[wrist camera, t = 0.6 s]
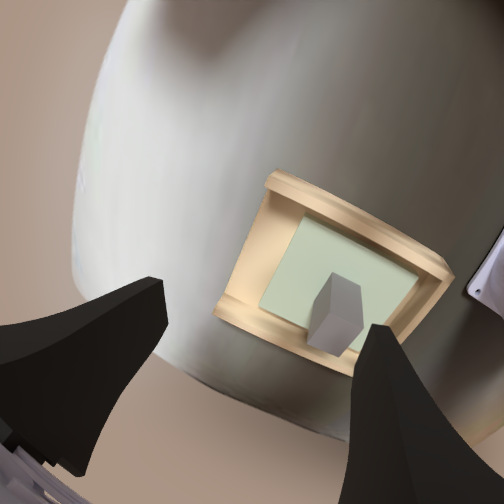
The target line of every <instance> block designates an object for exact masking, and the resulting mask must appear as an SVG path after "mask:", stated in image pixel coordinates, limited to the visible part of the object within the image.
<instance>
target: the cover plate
mask: <svg viewBox="0 0 504 504" xmlns="http://www.w3.org/2000/svg"><path fill="white" fill-rule="evenodd" d="M418 278H419V275H418V273H417V271H416V270H414V269H412V268H411V267H409V266H407V265H405V264H404V263H402V262H400V261H398V260H397V259H395V258H393V257H391V256H389V255H388V254H386V253H384V252H382V251H380V250H378V249H377V248H375V247H373V246H371V245H369V244H367V243H365V242H364V241H362V240H360V239H358V238H356V237H354V236H352V235H350V234H348V233H347V232H345V231H343V230H341V229H339V228H337V227H335V226H333V225H331V224H329V223H327V222H325V221H323V220H321V219H319V218H317V217H315V216H313V215H311V214H309V213H307V212H305V213H304V215H303V217H302V219H301V221H300V223H299V225H298V227H297V229H296V231H295V233H294V235H293V237H292V239H291V241H290V243H289V245H288V247H287V249H286V251H285V253H284V255H283V257H282V259H281V261H280V263H279V265H278V267H277V269H276V271H275V273H274V275H273V277H272V278H271V280H270V282H269V284H268V286H267V288H266V290H265V292H264V294H263V296H262V298H261V300H260V302H259V304H258V306H259V307H261V308H263V309H265V310H267V311H269V312H271V313H274V314H276V315H278V316H280V317H282V318H284V319H286V320H288V321H291V322H293V323H295V324H297V325H299V326H301V327H304V328H306V329H308V330H309V333H308V338H307V344H308V345H310V346H313V347H315V348H317V349H320V350H322V351H324V352H327V353H329V354H331V355H334V356H336V357H338V358H339V357H340V356H341V355H342V353H343V352H344V351H345V350H346V349H347V348H348V347H349V348H351V349H353V350H356V351H358V352H359V351H360V350H361V349H362V347H363V344H364V342H365V340H366V337H367V335H368V332H369V329H370V327H371V324H372V323H373V324H379V325H383V324H384V322H385V321H386V320H387V319H388V317H389V316H390V315H391V314H392V313H393V311H394V310H395V309H396V307H397V306H398V305H399V304H400V302H401V301H402V300H403V298H404V297H405V296H406V295H407V293H408V292H409V291H410V289H411V288H412V287H413V285H414V284H415V282H416V281H417V280H418Z"/></svg>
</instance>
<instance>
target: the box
mask: <svg viewBox="0 0 504 504" xmlns="http://www.w3.org/2000/svg"><path fill="white" fill-rule="evenodd" d="M264 187H266V188H268V189H267V192H266V194H265V197H264V199H263V201H262V204H261V206H260V208H259V211H258V213H257V215H256V218H255V220H254V223H253V225H252V227H251V230H250V232H249V234H248V237H247V239H246V242H245V244H244V246H243V249H242V251H241V253H240V256H239V258H238V261H237V263H236V265H235V268H234V270H233V273H232V275H231V278H230V280H229V282H228V285H227V287H226V290H225V292H224V294H223V295H222V297H221V299H220V300H219V302H218V303H217V305H216V306H215V308H214V310H213V313H212V314H213V315H215V316H217V317H219V318H221V319H223V320H225V321H227V322H229V323H231V324H233V325H235V326H237V327H239V328H241V329H243V330H245V331H247V332H250V333H252V334H254V335H256V336H258V337H260V338H262V339H264V340H267V341H269V342H271V343H273V344H275V345H278V346H280V347H282V348H284V349H286V350H289V351H291V352H293V353H296V354H298V355H300V356H302V357H305V358H307V359H309V360H312V361H314V362H317V363H319V364H321V365H324V366H326V367H329V368H331V369H334V370H336V371H339V372H341V373H344V374H346V375H349V376H351V377H353V372H354V366H355V363H356V361H357V359H358V356H359V354H360V352H361V350H360V351H359V352H358V351H356V350H353V349H351V348H349V347H348V348H347V349H346V350H345V351H344V352H343V353H342V355H341V356H340V357H339V358H338V357H336V356H334V355H331V354H329V353H327V352H324V351H322V350H320V349H317V348H315V347H313V346H310V345H308V344H307V338H308V333H309V330H308V329H306V328H304V327H301V326H299V325H297V324H295V323H293V322H291V321H288V320H286V319H284V318H282V317H280V316H278V315H276V314H274V313H271V312H269V311H267V310H265V309H263V308H261V307H259V306H258V304H259V302H260V300H261V298H262V296H263V294H264V292H265V290H266V288H267V286H268V284H269V282H270V280H271V278H272V277H273V275H274V273H275V271H276V269H277V267H278V265H279V263H280V261H281V259H282V257H283V255H284V253H285V251H286V249H287V247H288V245H289V243H290V241H291V239H292V237H293V235H294V233H295V231H296V229H297V227H298V225H299V223H300V221H301V219H302V217H303V215H304V213H305V212H307V213H309V214H311V215H313V216H315V217H317V218H319V219H321V220H323V221H325V222H327V223H329V224H331V225H333V226H335V227H337V228H339V229H341V230H343V231H345V232H347V233H348V234H350V235H352V236H354V237H356V238H358V239H360V240H362V241H364V242H365V243H367V244H369V245H371V246H373V247H375V248H377V249H378V250H380V251H382V252H384V253H386V254H388V255H389V256H391V257H393V258H395V259H397V260H398V261H400V262H402V263H404V264H405V265H407V266H409V267H411V268H412V269H414V270H416V271H417V273H418V275H419V278H418V280H417V281H416V282H415V284H414V285H413V287H412V288H411V289H410V291H409V292H408V293H407V295H406V296H405V297H404V298H403V300H402V301H401V302H400V304H399V305H398V306H397V307H396V309H395V310H394V311H393V313H392V314H391V315H390V316H389V317H388V319H387V320H386V321H385V322H384V324H383V325H385V326H390V328H391V330H392V332H393V333H394V335H395V337H396V339H397V340H398V342H399V344H401V343H402V342H403V341H404V340H405V339H406V338H407V337H408V335H409V334H410V333H411V332H412V331H413V330H414V329H415V327H416V326H417V325H418V324H419V323H420V322H421V320H422V319H423V318H424V317H425V316H426V314H427V313H428V312H429V311H430V310H431V308H432V307H433V306H434V305H435V303H436V302H437V301H438V300H439V298H440V297H441V296H442V294H443V293H444V292H445V290H446V289H447V288H448V286H449V285H450V284H451V282H452V281H453V280H454V278H455V276H454V274H453V273H452V271H451V270H450V268H449V266H448V265H447V263H446V262H445V260H444V259H443V258H442V257H441V256H439V255H438V254H436V253H435V252H433V251H431V250H430V249H428V248H427V247H425V246H423V245H422V244H420V243H419V242H417V241H415V240H414V239H412V238H410V237H409V236H407V235H405V234H404V233H402V232H400V231H399V230H397V229H395V228H393V227H392V226H390V225H388V224H386V223H385V222H383V221H381V220H379V219H377V218H376V217H374V216H372V215H370V214H368V213H367V212H365V211H363V210H361V209H359V208H357V207H355V206H354V205H352V204H350V203H348V202H346V201H344V200H342V199H340V198H338V197H336V196H334V195H332V194H330V193H328V192H326V191H324V190H322V189H320V188H318V187H316V186H314V185H312V184H310V183H308V182H306V181H304V180H302V179H300V178H298V177H295V176H293V175H291V174H289V173H287V172H285V171H282V170H280V169H276V170H275V171H274V172H273V173H272V174H271V175H269V176H268V179H267V181H266V184H265V186H264Z"/></svg>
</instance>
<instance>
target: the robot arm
mask: <svg viewBox="0 0 504 504" xmlns="http://www.w3.org/2000/svg"><path fill="white" fill-rule="evenodd" d="M477 289H479V290H478V291H477V292H475V291H476V290H477ZM467 292H468V293H469V295H471V296H472V297H474V298H475V299H477V300H478V301H480V302H481V303H483V304H484V305H486V306H487V307H489V308H490V309H492V310H493V311H495V312H496V313H497V314H499V315H500V316H502V318H503V319H504V229H503V231H502V233H501V235H500V236H499V238H498V240H497V241H496V243H495V245H494V246H493V248H492V250H491V251H490V253H489V254H488V256H487V257H486V259H485V260H484V262H483V263H482V265H481V266H480V268H479V269H478V271H477V272H476V274H475V275H474V277H473V278H472V279H471V281H470V282H469V284H468V285H467ZM168 324H169V323H168V316H167V309H166V302H165V295H164V287H163V280H161V279H157V278H153V277H146V278H143V279H140V280H138V281H135V282H133V283H130V284H128V285H126V286H124V287H121V288H119V289H117V290H115V291H112V292H110V293H108V294H106V295H103V296H101V297H99V298H96V299H94V300H92V301H89V302H87V303H84V304H82V305H79V306H77V307H74V308H72V309H69V310H66V311H64V312H60V313H57V314H54V315H51V316H48V317H44V318H40V319H36V320H31V321H27V322H22V323H17V324H10V325H2V326H0V504H58V503H57V502H55V501H54V500H52V499H51V498H49V497H47V496H46V495H45V494H44V490H45V491H46V492H48V493H49V494H50V495H51V496H52V497H54V498H55V499H56V500H57V501H58V502H60V503H61V504H92V503H90V502H89V501H88V500H86V499H85V498H83V497H82V496H80V495H79V494H77V493H76V492H74V491H73V490H72V489H70V488H69V487H68V486H66V485H65V484H64V483H62V482H61V481H60V480H59V479H57V478H56V477H55V476H53V475H52V474H51V473H50V472H49V471H48V470H46V469H45V468H44V467H43V466H42V464H43V463H44V462H45V461H46V462H48V463H49V464H50V465H51V466H52V467H54V466H55V465H56V464H57V463H58V464H59V465H60V466H62V467H63V468H64V469H66V470H67V471H69V472H70V473H71V474H72V475H74V476H75V477H82V476H84V475H85V473H86V469H87V466H88V463H89V461H90V458H91V455H92V452H93V449H94V447H95V445H96V442H97V440H98V437H99V435H100V433H101V431H102V429H103V427H104V425H105V423H106V421H107V419H108V417H109V415H110V413H111V410H112V409H113V407H114V405H115V404H116V402H117V400H118V398H119V396H120V395H121V393H122V392H123V390H124V389H125V387H126V386H127V385H128V383H129V382H130V381H131V379H132V378H133V377H134V375H135V374H136V373H137V371H138V370H139V369H140V367H141V366H142V365H143V363H144V362H145V361H146V359H147V358H148V357H149V355H150V354H151V353H152V351H153V350H154V349H155V347H156V346H157V344H158V342H159V341H160V339H161V337H162V335H163V333H164V332H165V330H166V328H167V326H168ZM338 504H504V478H502V477H501V476H500V475H499V474H497V473H496V472H495V471H494V470H493V469H492V468H490V467H489V466H488V465H487V464H486V463H485V462H484V461H483V460H482V459H481V458H480V457H479V456H478V455H477V454H476V453H475V452H474V451H473V450H472V449H471V448H470V447H469V445H468V444H467V443H466V442H465V441H464V440H463V439H462V437H461V436H460V435H459V434H458V433H457V432H456V430H455V429H454V428H453V427H452V425H451V424H450V423H449V421H448V420H447V419H446V417H445V416H444V415H443V413H442V412H441V411H440V409H439V408H438V406H437V405H436V404H435V402H434V401H433V399H432V397H431V396H430V394H429V393H428V391H427V390H426V388H425V387H424V385H423V383H422V382H421V380H420V379H419V377H418V375H417V374H416V372H415V370H414V368H413V367H412V365H411V363H410V362H409V360H408V358H407V356H406V355H405V353H404V351H403V349H402V347H401V346H400V344H399V342H398V340H397V339H396V337H395V335H394V333H393V332H392V330H391V328H390V326H385V325H379V324H373V323H372V324H371V327H370V329H369V332H368V335H367V337H366V340H365V342H364V344H363V347H362V349H361V352H360V354H359V356H358V359H357V361H356V363H355V366H354V372H353V380H352V389H351V416H350V443H349V455H348V463H347V468H346V473H345V478H344V483H343V487H342V491H341V495H340V498H339V502H338Z"/></svg>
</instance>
